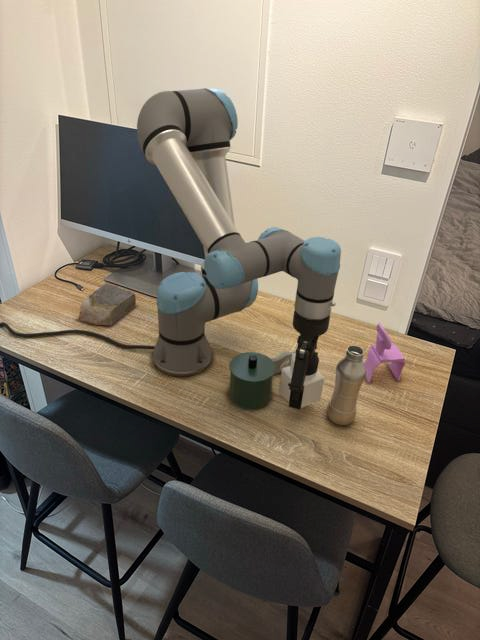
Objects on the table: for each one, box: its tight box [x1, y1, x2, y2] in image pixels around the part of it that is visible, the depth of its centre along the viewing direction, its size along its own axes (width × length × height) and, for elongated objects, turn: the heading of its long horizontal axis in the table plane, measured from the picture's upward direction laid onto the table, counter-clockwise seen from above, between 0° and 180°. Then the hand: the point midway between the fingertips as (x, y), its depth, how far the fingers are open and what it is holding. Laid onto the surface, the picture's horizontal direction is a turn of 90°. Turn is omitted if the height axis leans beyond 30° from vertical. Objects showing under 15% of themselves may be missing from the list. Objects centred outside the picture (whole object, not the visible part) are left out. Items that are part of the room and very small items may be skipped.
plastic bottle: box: [326, 344, 366, 426], centre depth 108 cm, size 6×7×20 cm
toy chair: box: [363, 323, 406, 383], centre depth 123 cm, size 8×9×15 cm
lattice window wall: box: [269, 350, 296, 375], centre depth 126 cm, size 12×2×6 cm, turn 117°
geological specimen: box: [78, 282, 137, 327], centre depth 144 cm, size 11×6×15 cm
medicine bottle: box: [278, 352, 325, 411], centre depth 110 cm, size 7×7×12 cm
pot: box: [229, 372, 274, 410], centre depth 116 cm, size 10×10×8 cm
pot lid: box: [228, 351, 275, 383], centre depth 113 cm, size 11×11×4 cm
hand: (299, 392), depth 113 cm, fingers closed on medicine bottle, 10 cm apart
